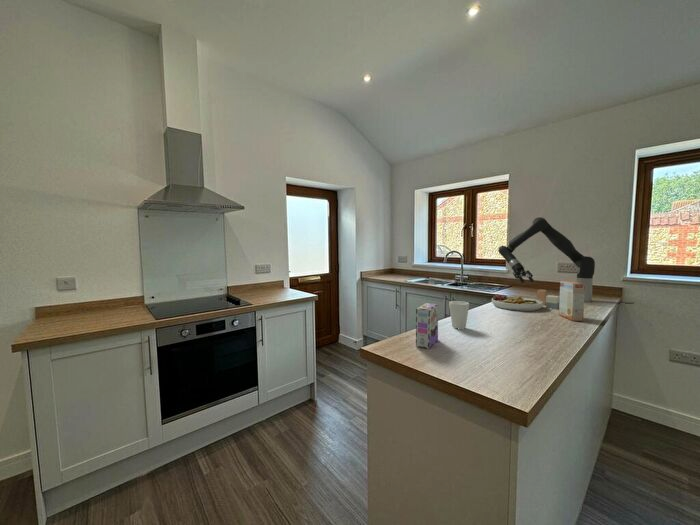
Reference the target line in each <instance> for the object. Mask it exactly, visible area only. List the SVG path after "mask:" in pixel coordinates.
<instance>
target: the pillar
mask: <svg viewBox="0 0 700 525" xmlns="http://www.w3.org/2000/svg"><path fill="white" fill-rule="evenodd" d="M536 294H537V295H536V296H537V297H536V300H540V301H542V302H543V305H542V306H546V305H545V304H546V296H548V292H547V290H546V289H538V290H537V291H536Z"/></svg>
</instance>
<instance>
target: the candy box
mask: <svg viewBox="0 0 700 525" xmlns="http://www.w3.org/2000/svg"><path fill="white" fill-rule="evenodd" d="M438 340H439V304H438V303H430V302H429V303H427V302H425V303H424V304H422V305H421V306H418V307H417V308H415V347H416V348H417V347H418V348H423V349H426V350H427V349H430V348H432V346H434V344H435V343H437V341H438Z"/></svg>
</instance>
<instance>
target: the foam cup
mask: <svg viewBox="0 0 700 525" xmlns="http://www.w3.org/2000/svg"><path fill="white" fill-rule="evenodd" d="M448 303H449V304H448V307H449V311H450V312H449V314H450V319H451V327H454V328H459V329H463V330H465V329H466V328H467V320H468V316H469V308H470V303H469V302H468V301H462V300H452V301H448ZM454 328H453V329H454ZM464 328H465V329H464ZM459 329H458V330H459Z"/></svg>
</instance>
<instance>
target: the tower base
mask: <svg viewBox="0 0 700 525" xmlns="http://www.w3.org/2000/svg"><path fill="white" fill-rule="evenodd" d="M559 304H560V301H559V303H557V304H556V303H548V302H546V305H545V308H546V309H550V308H552V309H551V310H559V309H558V308H559Z"/></svg>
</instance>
